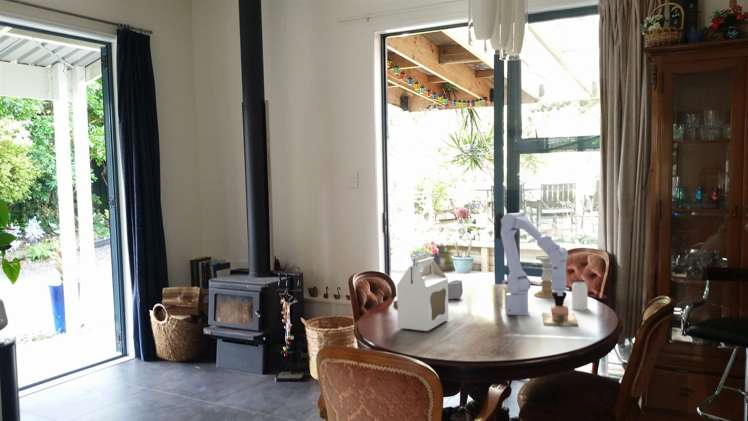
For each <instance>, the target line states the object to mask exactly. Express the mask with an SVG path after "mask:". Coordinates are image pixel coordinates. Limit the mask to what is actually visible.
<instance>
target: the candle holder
mask: <svg viewBox="0 0 748 421" xmlns="http://www.w3.org/2000/svg"><path fill="white" fill-rule="evenodd" d="M535 259H536V260H538V261H540V262H541V263H542V267H541V270H542V273H541V277H540V279H541V283H540V285H541V286H542V287H541V290H539V291H537V292H535V293H534V295H533V296H534V297H535V298H537V299H538V298H539V299H554V297H553V295H552V292H555V291H553V290H551V288H552V267H551V261H550V260H549V257H548V255H538V256H535Z"/></svg>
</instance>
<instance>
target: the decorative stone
mask: <svg viewBox="0 0 748 421" xmlns="http://www.w3.org/2000/svg"><path fill="white" fill-rule="evenodd" d="M462 282H463V281H462V280H461V279H460V280H459V279H458V280H456V279H455V280H452V281H450V282H448V300H454V299H455V300H456V299H462V295H463V293H464V292H463V290H464V289H463V283H462Z"/></svg>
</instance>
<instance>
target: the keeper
mask: <svg viewBox="0 0 748 421" xmlns="http://www.w3.org/2000/svg"><path fill="white" fill-rule="evenodd" d="M550 308H551V309H550V313H552V319H553V320H557V314H559V315H564V320H568V315H569V314H570V311H569V306H567V305H563V306H556V305H551V307H550Z"/></svg>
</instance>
